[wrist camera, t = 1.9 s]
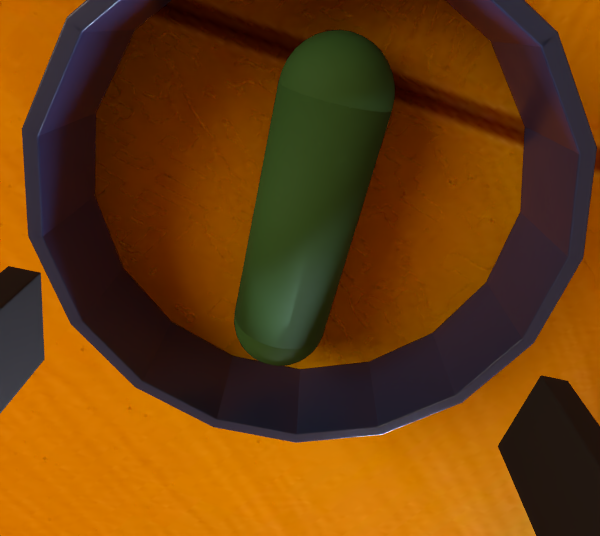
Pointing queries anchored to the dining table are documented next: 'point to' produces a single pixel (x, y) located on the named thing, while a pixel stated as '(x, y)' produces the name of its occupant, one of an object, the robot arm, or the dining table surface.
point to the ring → (323, 380)
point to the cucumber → (311, 191)
